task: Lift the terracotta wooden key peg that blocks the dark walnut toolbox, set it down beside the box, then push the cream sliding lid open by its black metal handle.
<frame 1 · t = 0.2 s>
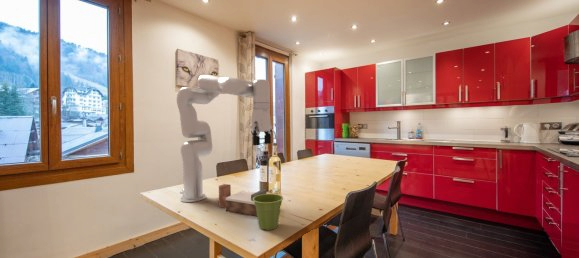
hand: (262, 144, 110), 31 cm above the table, tool pointing down, fingers open, 9 cm apart
plant pot: (268, 226, 93), on the table
toolbox: (250, 209, 112), on the table
wooden key: (225, 205, 118), on the table
toolbox lid: (250, 194, 112), point 7 cm above the table, slide at 0.0 cm
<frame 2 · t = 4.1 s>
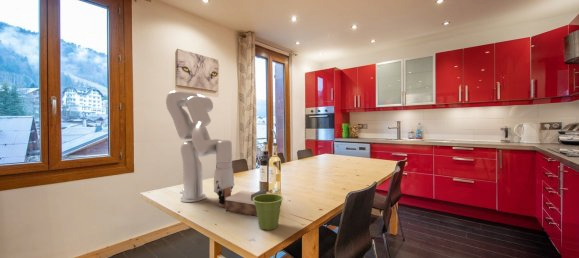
hand: (224, 201, 118), 2 cm above the table, tool pointing down, fingers closed on wooden key, 4 cm apart
wooden key: (225, 205, 118), on the table, touching gripper
everything else where it was.
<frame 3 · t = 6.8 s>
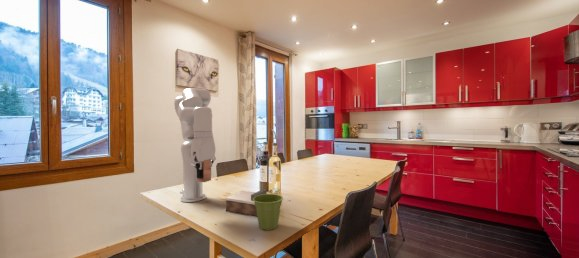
hand: (204, 176, 104), 17 cm above the table, tool pointing down, fingers closed on wooden key, 4 cm apart
wooden key: (204, 180, 104), point 15 cm above the table, touching gripper
everything else where it was.
when the fingers open (3 cm above the table, at t = 9.7 s): wooden key drops 1 cm, on the table.
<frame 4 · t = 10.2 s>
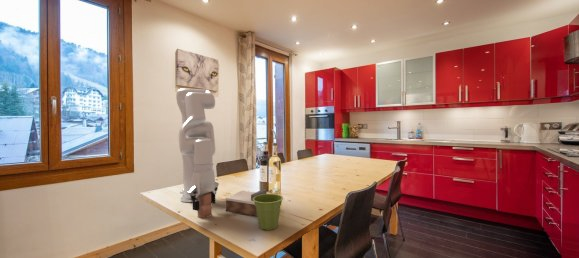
hand: (204, 206, 105), 4 cm above the table, tool pointing down, fingers open, 9 cm apart
wooden key: (204, 216, 105), on the table
everything else where it was.
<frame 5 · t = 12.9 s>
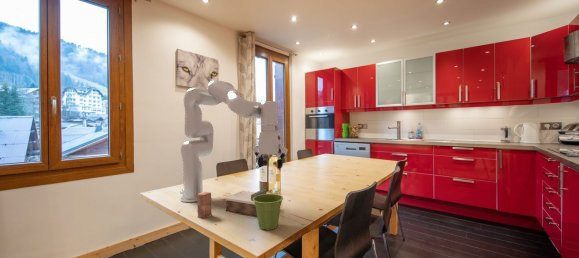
hand: (270, 167, 106), 21 cm above the table, tool pointing down, fingers open, 9 cm apart
nothing on the table moved.
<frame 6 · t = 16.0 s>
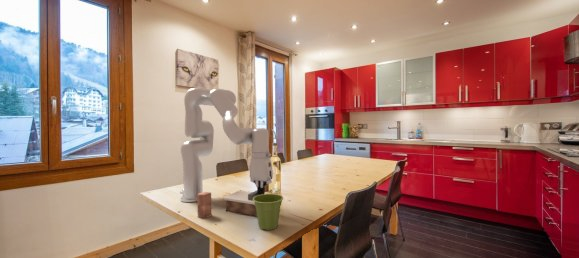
hand: (261, 195, 109), 7 cm above the table, tool pointing down, fingers closed
toolbox lid: (247, 194, 112), point 7 cm above the table, slide at 1.6 cm, touching gripper
everything else where it was.
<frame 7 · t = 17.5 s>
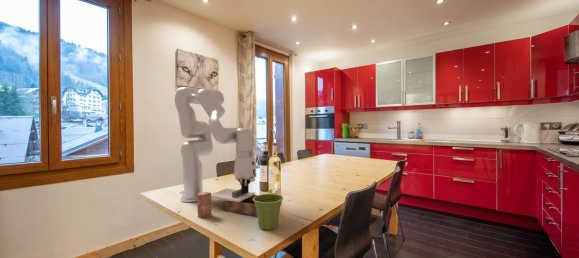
hand: (245, 192, 113), 8 cm above the table, tool pointing down, fingers closed
toolbox lid: (232, 192, 116), point 7 cm above the table, slide at 10.4 cm, touching gripper
everything else where it was.
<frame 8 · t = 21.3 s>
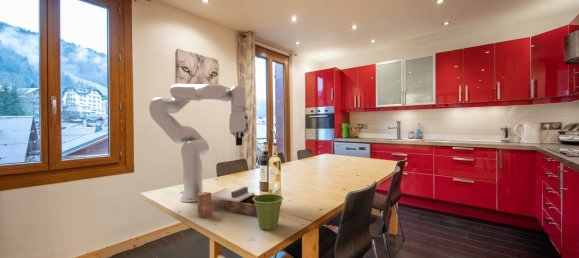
hand: (239, 145, 125), 29 cm above the table, tool pointing down, fingers closed
toolbox lid: (231, 192, 116), point 7 cm above the table, slide at 10.8 cm
everything else where it was.
at the end: toolbox lid slide at 10.8 cm; wooden key inside the target area (0.0 cm from its centre), on the table; wooden key tilted 0° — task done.
